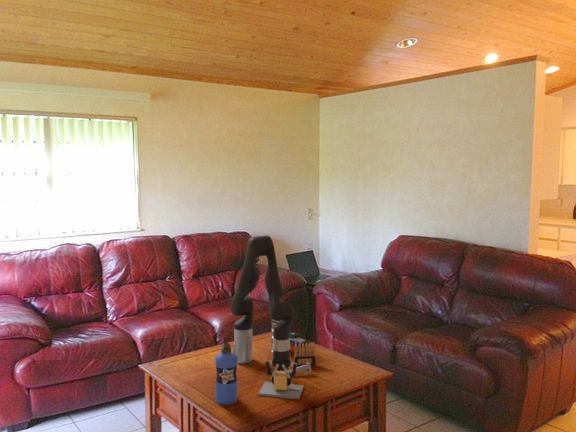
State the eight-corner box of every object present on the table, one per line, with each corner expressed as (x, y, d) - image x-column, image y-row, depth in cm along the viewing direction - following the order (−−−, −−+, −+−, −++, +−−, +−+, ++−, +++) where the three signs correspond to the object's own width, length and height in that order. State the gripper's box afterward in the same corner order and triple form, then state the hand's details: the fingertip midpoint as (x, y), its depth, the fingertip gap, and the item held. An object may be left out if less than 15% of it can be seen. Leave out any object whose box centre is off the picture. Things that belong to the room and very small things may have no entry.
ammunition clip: (314, 364, 251) (314, 341, 250) (315, 365, 249) (315, 342, 248) (293, 365, 250) (293, 342, 249) (294, 366, 248) (294, 343, 247)
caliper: (310, 373, 240) (310, 361, 240) (311, 374, 239) (311, 361, 239) (269, 379, 234) (269, 366, 234) (270, 380, 233) (270, 367, 233)
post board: (258, 395, 216) (258, 383, 216) (265, 383, 228) (265, 372, 228) (298, 399, 213) (298, 386, 212) (303, 387, 224) (303, 375, 224)
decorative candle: (269, 348, 273) (269, 304, 271) (285, 347, 275) (285, 303, 273) (272, 354, 264) (272, 308, 262) (289, 353, 266) (289, 307, 264)
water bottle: (238, 403, 209) (238, 346, 206) (216, 406, 207) (215, 347, 204) (236, 394, 218) (236, 338, 215) (215, 396, 216) (214, 340, 213)
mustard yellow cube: (273, 389, 218) (273, 375, 218) (276, 383, 224) (276, 370, 223) (286, 390, 217) (286, 377, 216) (288, 384, 222) (288, 371, 222)
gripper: (263, 349, 216) (263, 386, 218) (295, 352, 214) (295, 389, 215) (267, 343, 224) (267, 379, 225) (299, 346, 221) (298, 382, 222)
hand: (281, 384), depth 220 cm, fingers open, 5 cm apart
